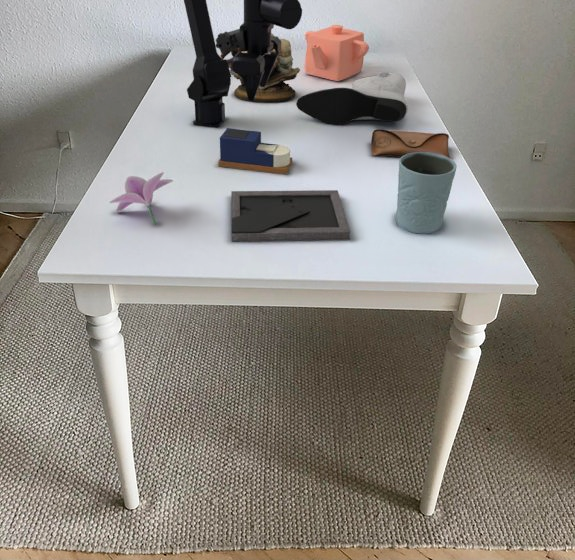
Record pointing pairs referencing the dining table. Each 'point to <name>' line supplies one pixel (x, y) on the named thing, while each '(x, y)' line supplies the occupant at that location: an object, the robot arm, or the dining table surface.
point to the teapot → (335, 52)
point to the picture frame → (288, 216)
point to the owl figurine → (274, 79)
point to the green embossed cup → (423, 191)
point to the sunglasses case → (408, 143)
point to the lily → (140, 191)
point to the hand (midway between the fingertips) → (256, 93)
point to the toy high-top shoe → (252, 152)
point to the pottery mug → (234, 53)
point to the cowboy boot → (358, 101)
